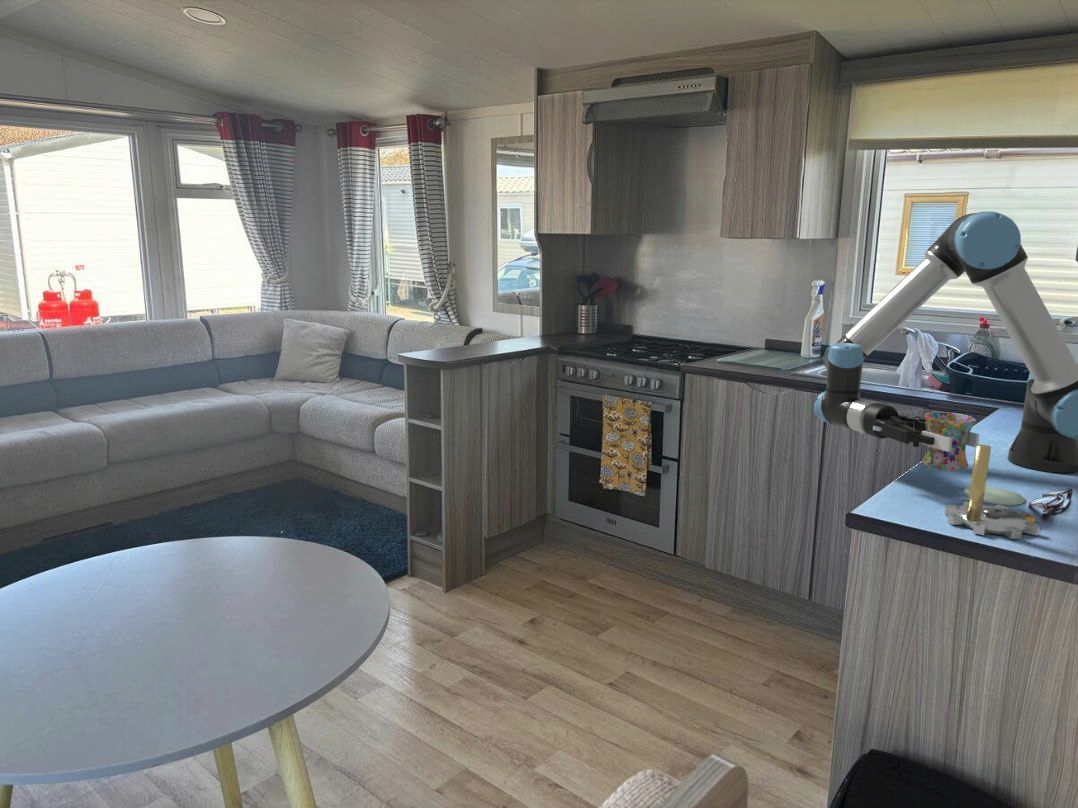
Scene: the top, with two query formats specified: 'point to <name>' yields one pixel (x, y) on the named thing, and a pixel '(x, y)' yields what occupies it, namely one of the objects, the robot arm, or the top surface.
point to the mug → (952, 428)
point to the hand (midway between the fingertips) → (963, 442)
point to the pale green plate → (1000, 496)
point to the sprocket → (988, 507)
